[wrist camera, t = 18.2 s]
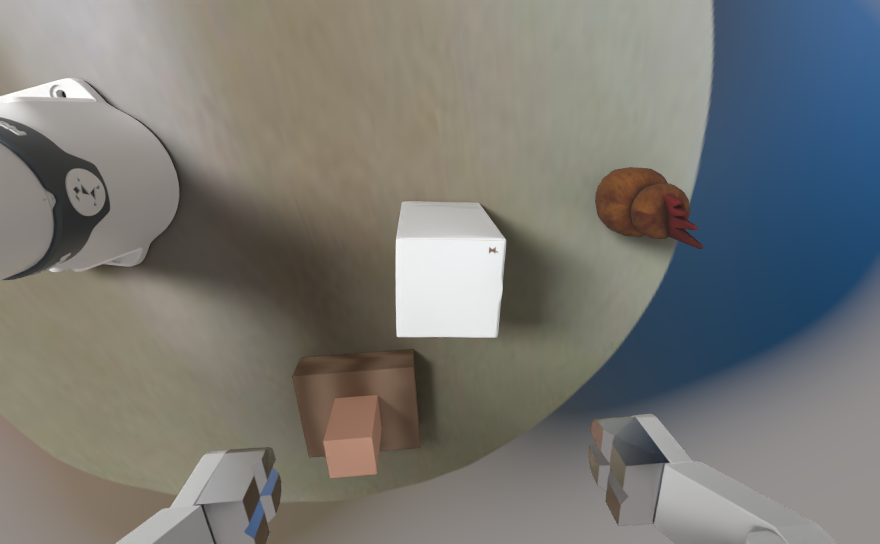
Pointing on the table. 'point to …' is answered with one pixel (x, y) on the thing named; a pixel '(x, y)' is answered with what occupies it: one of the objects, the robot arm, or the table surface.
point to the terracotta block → (353, 437)
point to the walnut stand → (359, 394)
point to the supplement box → (448, 271)
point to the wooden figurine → (644, 205)
